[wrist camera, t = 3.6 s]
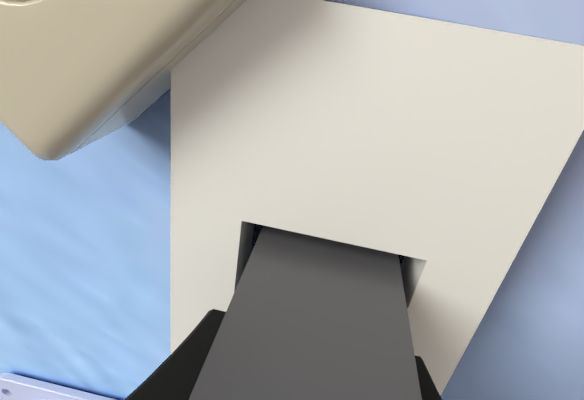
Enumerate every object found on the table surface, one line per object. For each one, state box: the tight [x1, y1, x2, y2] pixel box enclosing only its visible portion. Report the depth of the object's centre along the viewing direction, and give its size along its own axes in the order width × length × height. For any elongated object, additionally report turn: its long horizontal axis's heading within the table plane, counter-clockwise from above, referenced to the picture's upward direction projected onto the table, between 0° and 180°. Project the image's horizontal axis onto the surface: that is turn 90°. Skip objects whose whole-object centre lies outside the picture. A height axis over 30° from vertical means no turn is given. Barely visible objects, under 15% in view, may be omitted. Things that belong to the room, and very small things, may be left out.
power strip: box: [171, 0, 584, 396], centre depth 13 cm, size 22×9×3 cm, turn 171°
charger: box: [189, 225, 422, 400], centre depth 10 cm, size 4×4×7 cm
